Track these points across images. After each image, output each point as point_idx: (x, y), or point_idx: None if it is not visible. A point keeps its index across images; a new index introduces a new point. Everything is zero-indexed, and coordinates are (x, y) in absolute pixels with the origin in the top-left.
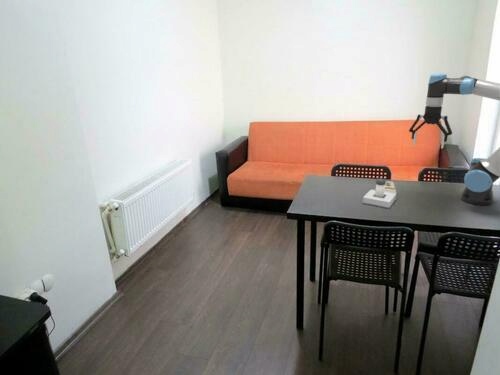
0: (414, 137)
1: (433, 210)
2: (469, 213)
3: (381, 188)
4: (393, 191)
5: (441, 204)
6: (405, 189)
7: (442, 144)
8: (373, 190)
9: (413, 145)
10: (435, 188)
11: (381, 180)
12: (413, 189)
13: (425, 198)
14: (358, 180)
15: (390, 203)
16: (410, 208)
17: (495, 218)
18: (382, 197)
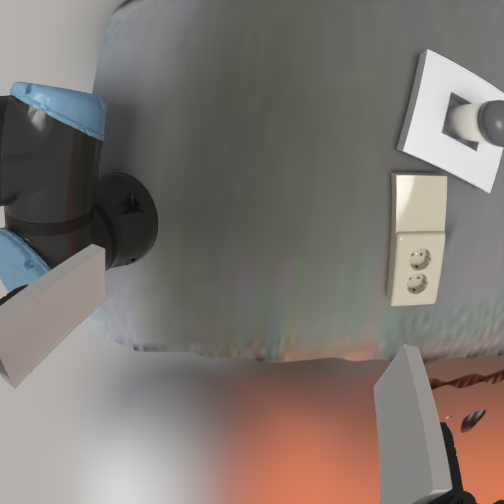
0: (435, 433)
1: (256, 69)
2: (145, 88)
3: (480, 103)
4: (407, 197)
5: (222, 139)
6: (342, 276)
7: (68, 267)
8: (483, 181)
9: (411, 346)
10: (231, 302)
11: (502, 116)
12: (311, 281)
13: (276, 189)
14: (479, 331)
15: (421, 65)
16: (341, 67)
17: (93, 84)
18: (454, 108)
